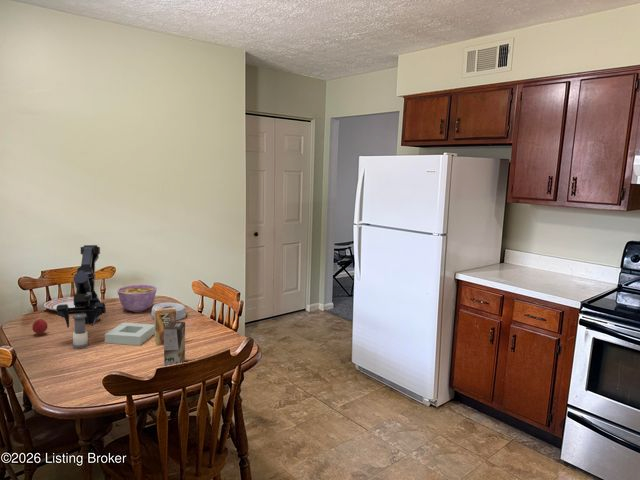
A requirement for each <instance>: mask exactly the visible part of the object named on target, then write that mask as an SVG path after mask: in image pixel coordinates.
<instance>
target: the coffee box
mask: <svg viewBox="0 0 640 480" xmlns="http://www.w3.org/2000/svg"><path fill="white" fill-rule="evenodd" d="M184 359H185V360H186V321H176V322H169V324H168V325H167V326H166V327H165V328H164V343H163V367H164V366H167V365H172V364H177V363H181V362H183V363H184V362H185V360H184Z"/></svg>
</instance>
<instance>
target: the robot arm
mask: <svg viewBox="0 0 640 480" xmlns="http://www.w3.org/2000/svg"><path fill="white" fill-rule="evenodd" d="M80 255H81V256H82V258H81V265H80V266H79V267H78V268H77V269H76V272H75V273H74V275H73V277H72V279H73V281H74V282H73V283H74V287H75V289H76V290H75V291H76V292H75V293H74V294H73V297H74V305H75V307H68V305H67V304H63V305H58V306H57V309H56V311H55V312H56V313H57V316H59V317H61V318H64V319H65V320H64V321H65V323H66V327H67V329H69V327H70V313H73V312H72V311H76V312H82V313H86V317H85V324H91V327H93V326H94V325H95V323H97V322H98V321H100V320H101V318H99V317H100V316H103V314H105V313H107V312H106V309H107V307H106V303H105V302H102V301H101V302H100V300H99V299H100V298H99V297H98V294H97V292H96V291H95V279H96V262H97V261H98V259H99V258H100V257H99V256H100V255H101V247H100V246H99V245H97V244H91V245H90V244H89V245H87V244H86V245H83V246H80Z"/></svg>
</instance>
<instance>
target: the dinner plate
mask: <svg viewBox="0 0 640 480" xmlns="http://www.w3.org/2000/svg"><path fill="white" fill-rule="evenodd" d="M99 300H100V302H102V300H101V298H99ZM43 304H44V305H43V306H44V308H45V309H47V310H50V311H55V312H57V311H56V309H57V306H58V305H63V304H67V305H68V307H75V305H74V296H67V297H60V298H55V299H52V300H49V301H47V302H45V303H43ZM74 312H76V313H77V311H72V312H71V313H74Z"/></svg>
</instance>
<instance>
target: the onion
mask: <svg viewBox="0 0 640 480" xmlns="http://www.w3.org/2000/svg"><path fill="white" fill-rule="evenodd" d="M31 329H32V331H33V332H34V334H37V335H39V336H40V335H43V334H44V333H45V332H46V331H47V330H48V323H47V322H46V321H45V320H43V319H42V317H39V318H37V320H35V321H34V322H33V324H32V326H31Z"/></svg>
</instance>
